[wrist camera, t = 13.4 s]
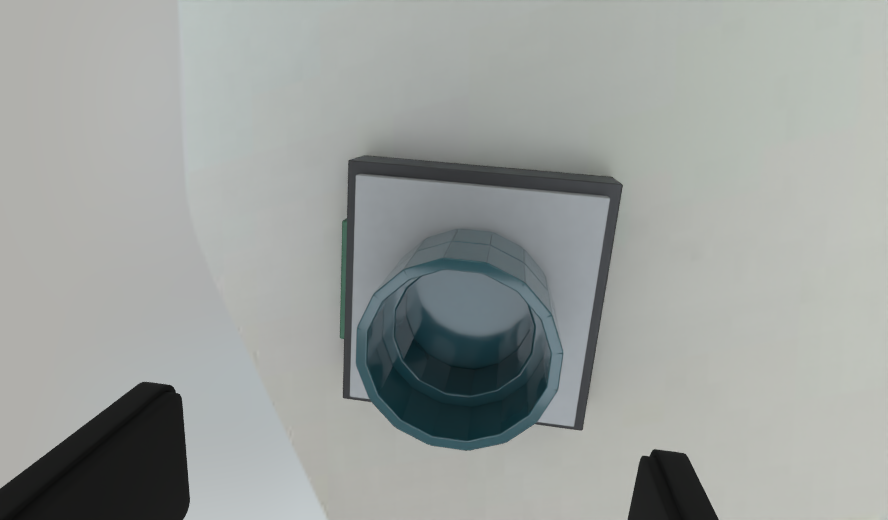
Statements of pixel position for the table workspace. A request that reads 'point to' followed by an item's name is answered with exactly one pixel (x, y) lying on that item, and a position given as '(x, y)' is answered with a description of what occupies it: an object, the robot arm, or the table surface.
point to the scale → (496, 210)
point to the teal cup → (461, 341)
